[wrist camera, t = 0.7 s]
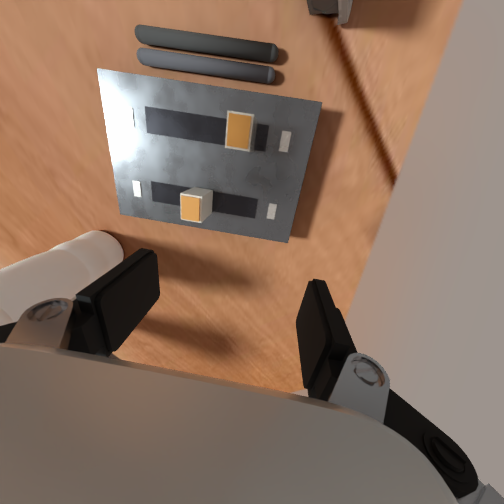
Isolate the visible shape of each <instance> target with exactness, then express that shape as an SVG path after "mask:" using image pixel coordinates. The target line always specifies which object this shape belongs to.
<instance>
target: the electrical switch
mask: <svg viewBox="0 0 504 504" xmlns="http://www.w3.org/2000/svg"><path fill="white" fill-rule="evenodd" d="M352 2H353V0H307V4H308V8H309V13H310V15H313V14H320V13H323V14H332V13H339V16H338V25H339V24H344V23H347V21H348V19H349V15H350V12H351V7H352Z"/></svg>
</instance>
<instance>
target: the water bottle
mask: <svg viewBox="0 0 504 504" xmlns="http://www.w3.org/2000/svg"><path fill="white" fill-rule="evenodd" d="M123 257H124V254H123V249H122V247H121V245H120V243H119V242H118V241H117V240H116V239H115V238H114V237H113V236H111V235H110V234H108V233H106V232H103V231H90V232H87V233H85V234H83V235H81V236H79V237H77V238H75V239H74V240H71V241H67V242H64V243H62V244H59V245H57V246H55V247H54V248H52V249H51V250H49V251H46V252H43V253H40V254H37V255H35V256H32V257H29V258H27V259H24V260H22V261H19V262H17V263H14V264H12V265H10V266H7V267H5V268H3V269H0V326H2V325H6V324H9V323H13V322H17V321H18V320H19V318H20V317H21V315H22V314H23V313H24V311H25V310H27V309H28V308H30V307H31V306H33V305H35V304H37V303H39V302H42V301H45V300H48V299H53V298H67V299H70V300H71V299H72V298H73V297H75V296H76V295H75V294H77V293H78V292H80V291H81V290H82V289H84V288H85V287H87V286H88V285H89V284H91V283H92V282H94V281H95V280H97V279H98V278H99V277H101V276H102V275H104V274H105V273H107V272H108V271H109V270H111V269H112V268H114V267H115V266H116V265H118V264H119V263H121V262H122V261H123Z"/></svg>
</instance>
